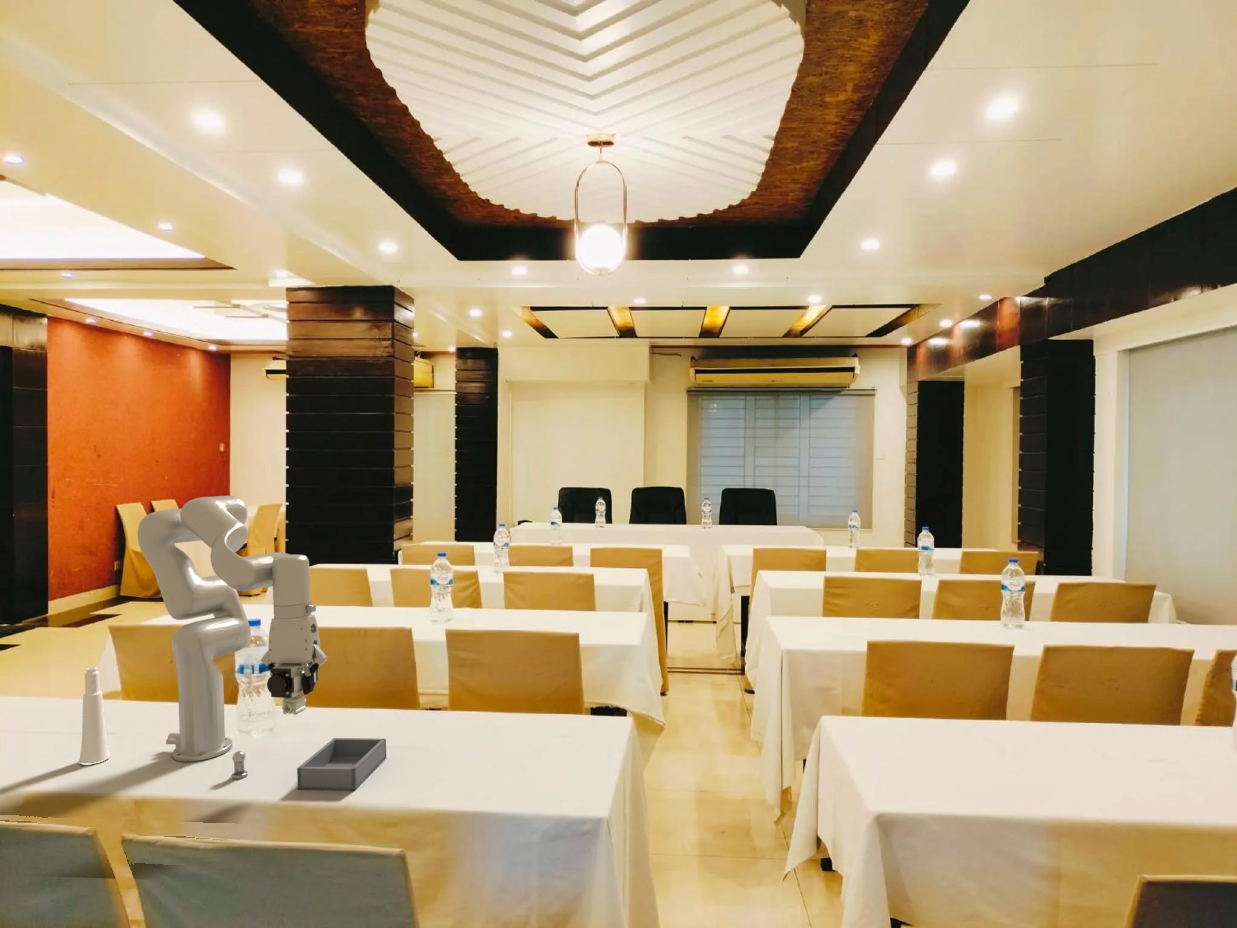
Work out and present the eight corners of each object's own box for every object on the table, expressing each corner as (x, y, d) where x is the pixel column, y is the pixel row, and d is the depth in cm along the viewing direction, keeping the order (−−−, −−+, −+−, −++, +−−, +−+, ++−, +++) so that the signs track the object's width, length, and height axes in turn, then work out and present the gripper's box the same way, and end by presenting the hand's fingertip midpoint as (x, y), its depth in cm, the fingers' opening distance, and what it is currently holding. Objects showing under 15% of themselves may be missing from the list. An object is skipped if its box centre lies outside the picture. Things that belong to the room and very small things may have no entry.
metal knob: (228, 779, 162) (227, 754, 162) (237, 773, 165) (236, 748, 165) (242, 779, 162) (241, 754, 162) (250, 773, 165) (249, 748, 165)
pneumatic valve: (267, 720, 158) (265, 665, 157) (302, 702, 169) (300, 650, 169) (289, 722, 156) (288, 666, 156) (323, 703, 168) (321, 651, 168)
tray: (297, 789, 156) (297, 768, 156) (334, 757, 173) (334, 737, 173) (354, 790, 155) (354, 769, 155) (386, 758, 172) (385, 738, 172)
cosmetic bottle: (109, 761, 173) (106, 669, 172) (77, 768, 170) (74, 673, 169) (111, 753, 178) (108, 663, 178) (80, 758, 175) (77, 667, 175)
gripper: (337, 607, 165) (340, 687, 165) (265, 608, 167) (268, 687, 167) (320, 614, 158) (323, 698, 158) (245, 615, 160) (249, 698, 160)
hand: (295, 691), depth 163 cm, fingers closed on pneumatic valve, 5 cm apart
